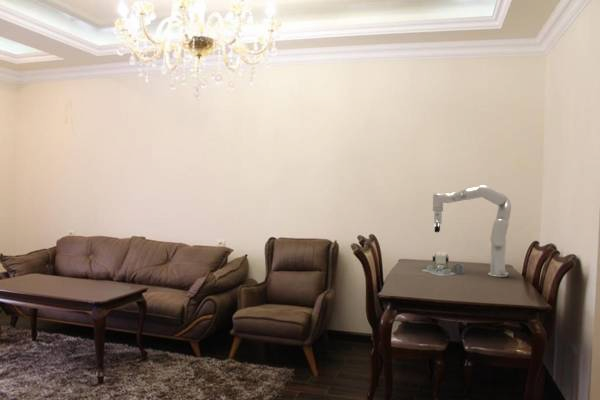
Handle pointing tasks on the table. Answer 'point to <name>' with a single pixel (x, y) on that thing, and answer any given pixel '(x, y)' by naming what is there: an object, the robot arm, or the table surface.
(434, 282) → the table surface
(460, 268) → the hub
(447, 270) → the seat
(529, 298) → the table surface
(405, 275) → the table surface
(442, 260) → the pneumatic valve
